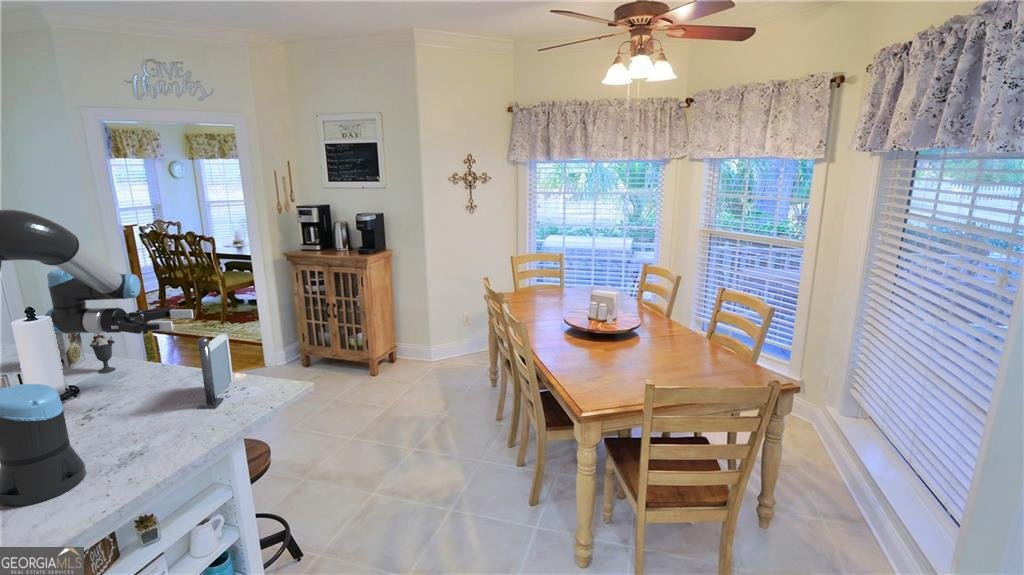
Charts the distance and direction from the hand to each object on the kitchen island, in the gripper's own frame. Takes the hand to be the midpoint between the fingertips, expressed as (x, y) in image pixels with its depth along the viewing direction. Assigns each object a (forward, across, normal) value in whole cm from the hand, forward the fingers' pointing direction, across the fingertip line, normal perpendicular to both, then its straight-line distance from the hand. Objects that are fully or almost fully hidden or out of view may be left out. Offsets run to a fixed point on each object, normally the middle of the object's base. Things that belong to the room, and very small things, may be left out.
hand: (182, 319), depth 158 cm
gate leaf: (+10, +2, -23) cm, 25 cm away
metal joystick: (+10, +10, -24) cm, 28 cm away
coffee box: (-53, -24, -24) cm, 63 cm away
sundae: (-37, -18, -24) cm, 48 cm away
